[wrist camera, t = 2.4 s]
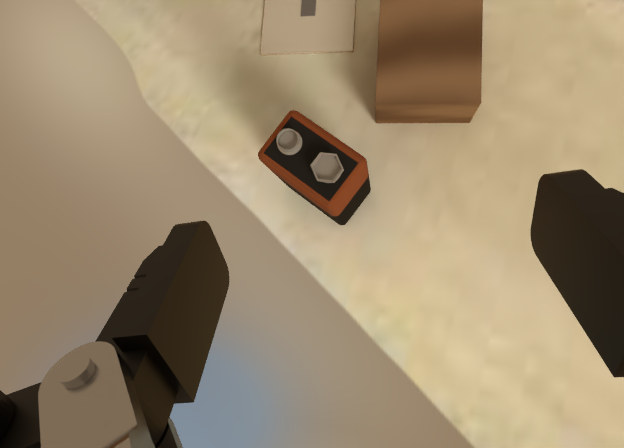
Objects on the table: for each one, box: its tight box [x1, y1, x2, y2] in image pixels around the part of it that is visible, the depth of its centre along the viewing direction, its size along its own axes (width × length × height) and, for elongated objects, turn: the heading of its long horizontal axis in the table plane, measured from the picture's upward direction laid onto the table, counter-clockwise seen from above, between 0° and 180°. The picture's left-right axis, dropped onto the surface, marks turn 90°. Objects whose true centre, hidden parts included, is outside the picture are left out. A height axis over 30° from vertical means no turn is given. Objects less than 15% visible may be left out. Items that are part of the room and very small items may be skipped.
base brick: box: [375, 0, 483, 123], centre depth 33 cm, size 10×8×4 cm
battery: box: [258, 110, 371, 225], centre depth 30 cm, size 4×7×10 cm, turn 53°
